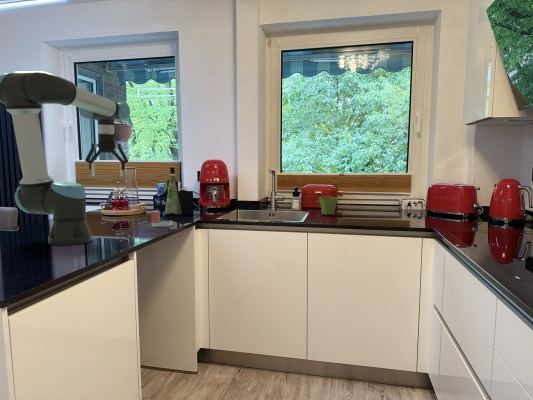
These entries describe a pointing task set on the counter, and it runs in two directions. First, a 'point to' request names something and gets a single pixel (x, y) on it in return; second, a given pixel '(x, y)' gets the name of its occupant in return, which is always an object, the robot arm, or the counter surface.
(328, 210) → the plant pot
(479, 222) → the counter surface
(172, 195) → the pouch
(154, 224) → the console
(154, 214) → the block
